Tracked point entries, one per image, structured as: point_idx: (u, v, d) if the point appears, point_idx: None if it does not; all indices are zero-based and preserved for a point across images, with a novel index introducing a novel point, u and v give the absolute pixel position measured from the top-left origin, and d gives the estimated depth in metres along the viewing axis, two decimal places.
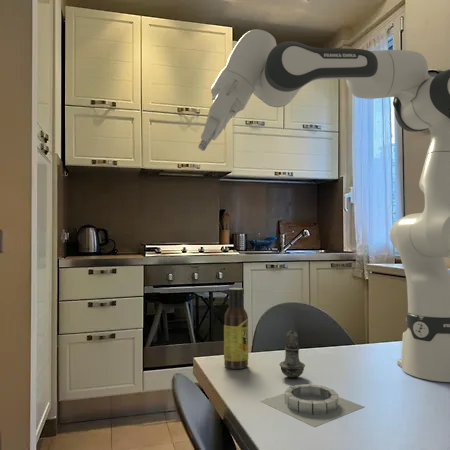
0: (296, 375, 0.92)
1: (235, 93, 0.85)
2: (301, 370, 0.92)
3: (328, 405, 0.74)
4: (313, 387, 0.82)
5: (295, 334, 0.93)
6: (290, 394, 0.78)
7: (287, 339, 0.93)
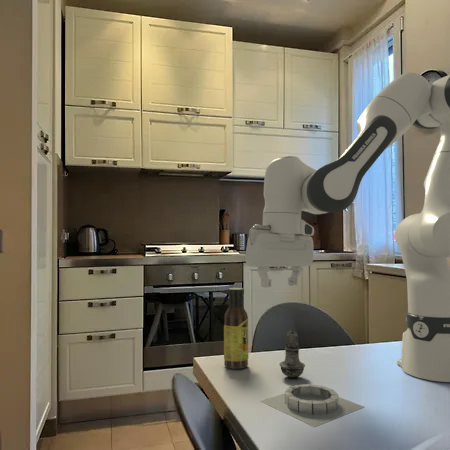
0: (296, 375, 0.92)
1: (257, 238, 0.87)
2: (301, 370, 0.92)
3: (328, 405, 0.74)
4: (313, 387, 0.82)
5: (295, 334, 0.93)
6: (290, 394, 0.78)
7: (287, 339, 0.93)
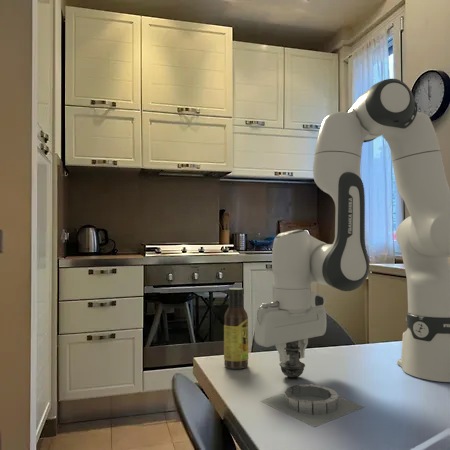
0: (296, 375, 0.92)
1: (265, 319, 0.88)
2: (301, 370, 0.92)
3: (328, 405, 0.74)
4: (313, 387, 0.82)
5: None
6: (290, 394, 0.78)
7: None
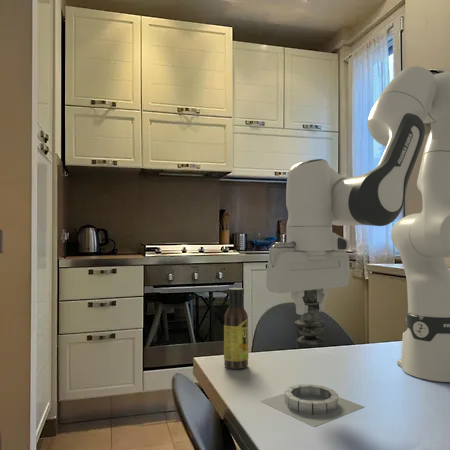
0: (315, 334, 0.77)
1: (279, 259, 0.73)
2: (321, 328, 0.77)
3: (328, 405, 0.74)
4: (313, 387, 0.82)
5: None
6: (290, 394, 0.78)
7: (304, 292, 0.79)
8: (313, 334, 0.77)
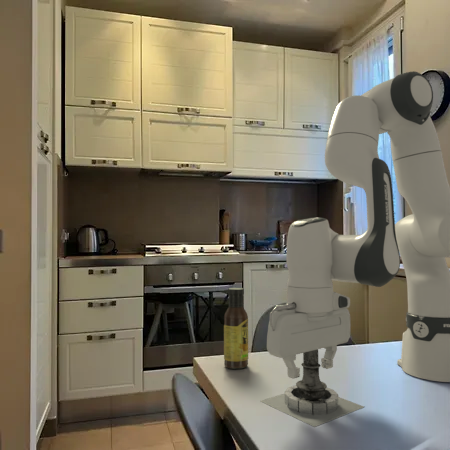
0: (316, 398, 0.77)
1: (279, 324, 0.73)
2: (322, 392, 0.77)
3: (328, 405, 0.74)
4: None
5: None
6: (290, 394, 0.78)
7: (305, 354, 0.78)
8: (314, 398, 0.77)
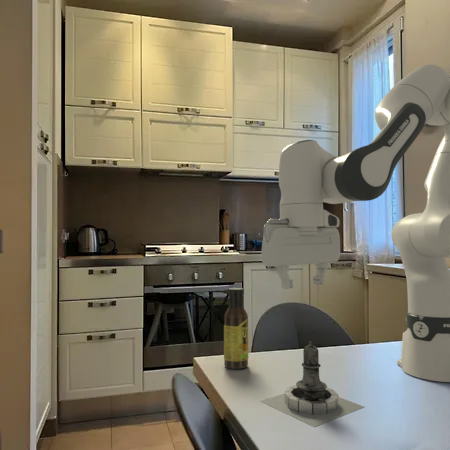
0: (316, 398, 0.77)
1: (273, 234, 0.77)
2: (322, 392, 0.77)
3: (328, 405, 0.74)
4: None
5: (315, 349, 0.78)
6: (290, 394, 0.78)
7: (305, 354, 0.78)
8: (314, 398, 0.77)
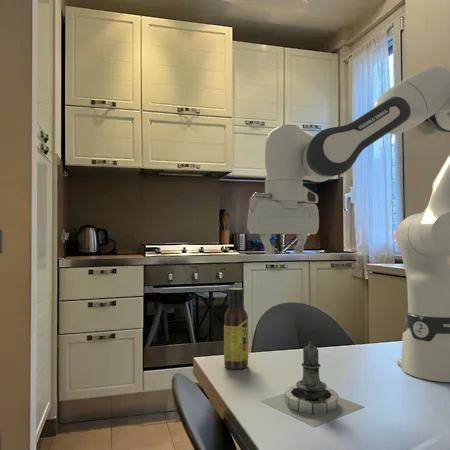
0: (316, 398, 0.77)
1: (257, 206, 0.89)
2: (322, 392, 0.77)
3: (328, 405, 0.74)
4: None
5: (315, 349, 0.78)
6: (290, 394, 0.78)
7: (305, 354, 0.78)
8: (314, 398, 0.77)
